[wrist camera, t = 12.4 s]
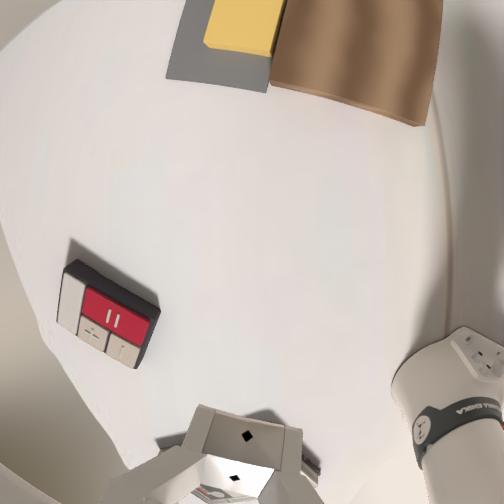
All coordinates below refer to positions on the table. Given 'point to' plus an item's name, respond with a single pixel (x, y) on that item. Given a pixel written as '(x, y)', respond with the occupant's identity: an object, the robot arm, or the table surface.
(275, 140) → the table surface
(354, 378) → the table surface
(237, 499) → the hard drive
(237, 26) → the yellow rectangular block
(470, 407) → the robot arm
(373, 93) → the panel
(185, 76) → the mat
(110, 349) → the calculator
